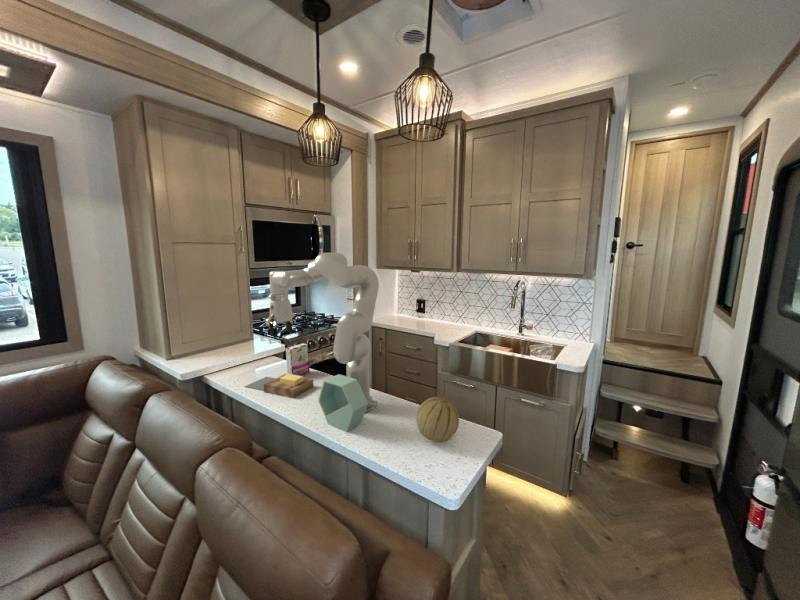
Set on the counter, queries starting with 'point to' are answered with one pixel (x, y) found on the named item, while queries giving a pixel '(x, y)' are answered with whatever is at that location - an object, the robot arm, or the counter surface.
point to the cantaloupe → (437, 419)
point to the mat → (259, 383)
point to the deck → (287, 387)
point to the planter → (342, 402)
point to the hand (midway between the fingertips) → (281, 334)
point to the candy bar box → (297, 359)
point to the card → (291, 379)
